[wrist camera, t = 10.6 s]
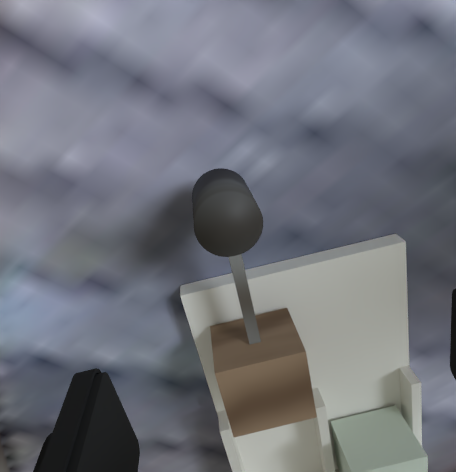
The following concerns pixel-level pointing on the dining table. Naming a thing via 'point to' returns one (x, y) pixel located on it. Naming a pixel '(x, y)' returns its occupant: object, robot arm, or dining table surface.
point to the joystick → (249, 319)
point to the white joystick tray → (328, 359)
